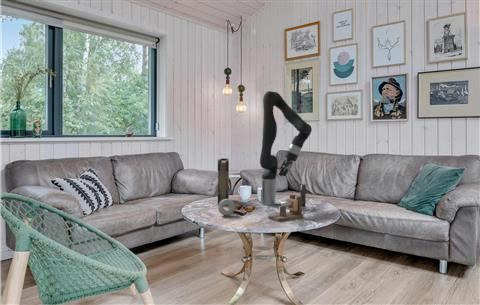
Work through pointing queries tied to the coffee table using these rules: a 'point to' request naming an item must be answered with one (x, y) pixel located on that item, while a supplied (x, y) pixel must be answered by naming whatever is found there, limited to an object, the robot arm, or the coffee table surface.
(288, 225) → the coffee table surface
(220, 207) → the donut
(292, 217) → the shaft stand
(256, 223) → the coffee table surface
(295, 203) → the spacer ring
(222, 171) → the decorative book
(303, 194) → the grey piece
